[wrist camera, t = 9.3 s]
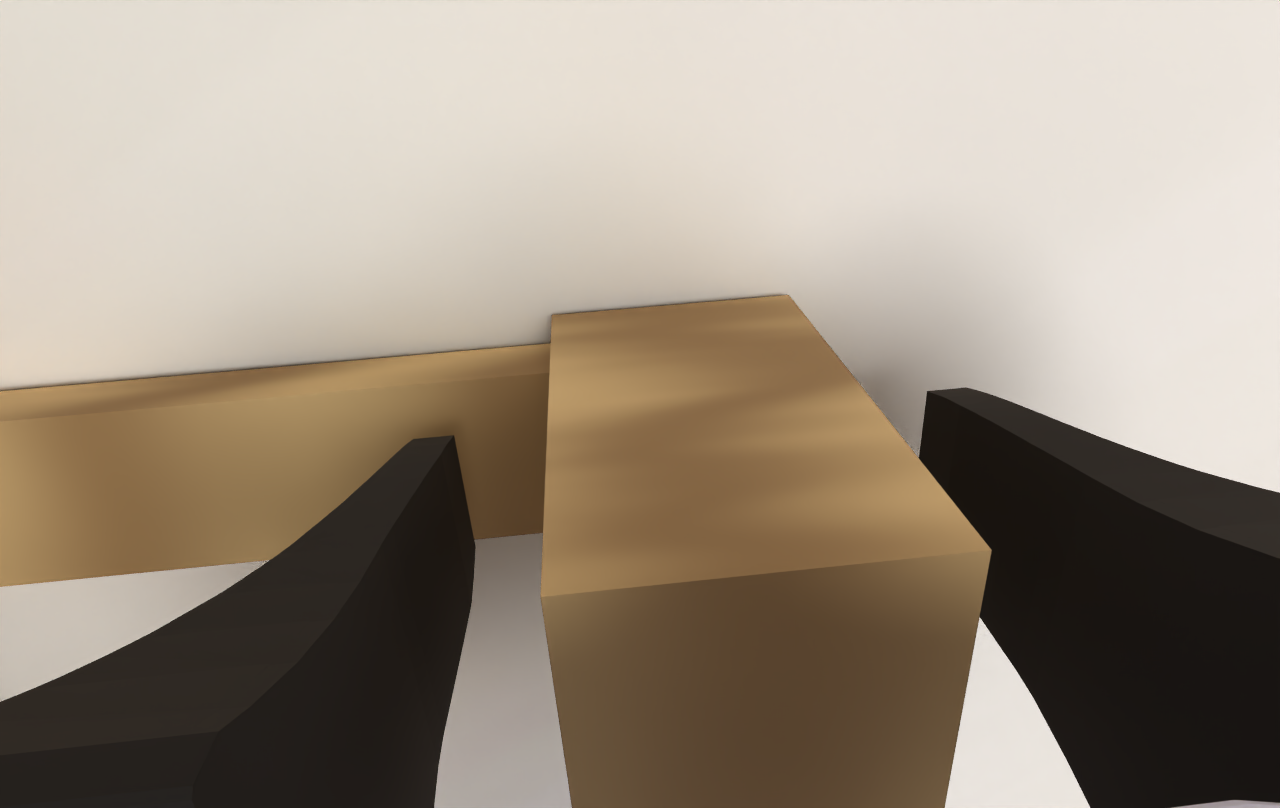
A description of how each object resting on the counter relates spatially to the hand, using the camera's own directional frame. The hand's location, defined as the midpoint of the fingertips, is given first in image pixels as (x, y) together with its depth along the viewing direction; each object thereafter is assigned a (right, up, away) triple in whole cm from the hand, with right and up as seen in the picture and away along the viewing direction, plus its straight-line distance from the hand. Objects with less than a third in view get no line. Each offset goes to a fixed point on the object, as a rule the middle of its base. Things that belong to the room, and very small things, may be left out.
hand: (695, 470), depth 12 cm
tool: (-7, 0, +2) cm, 7 cm away
